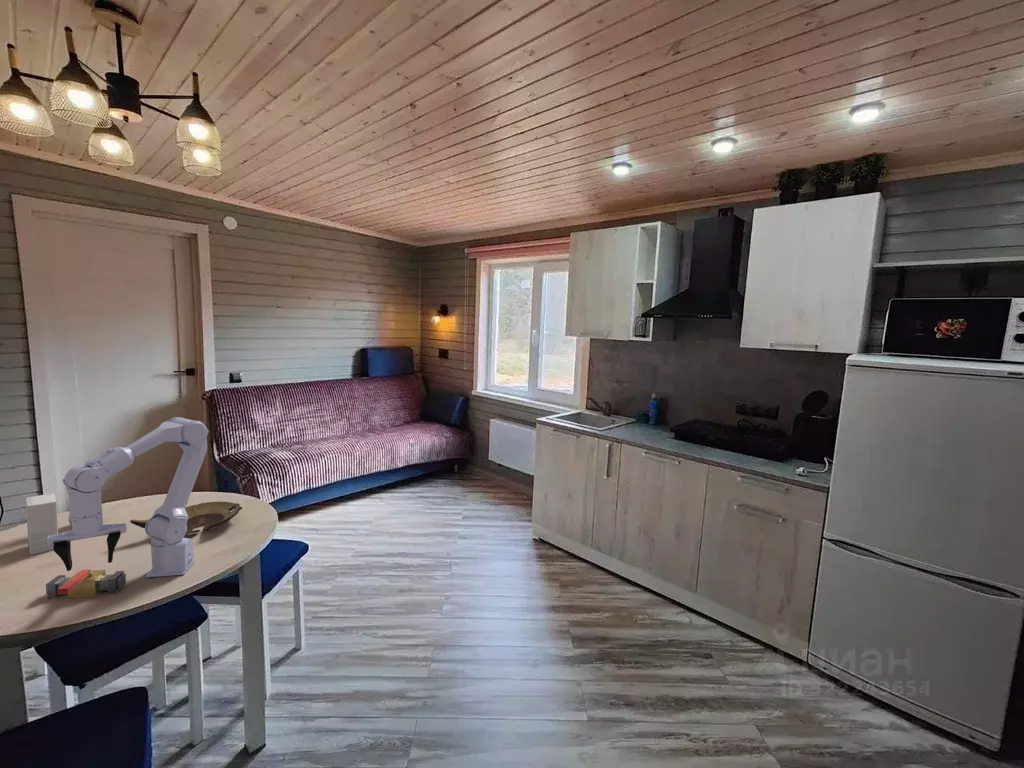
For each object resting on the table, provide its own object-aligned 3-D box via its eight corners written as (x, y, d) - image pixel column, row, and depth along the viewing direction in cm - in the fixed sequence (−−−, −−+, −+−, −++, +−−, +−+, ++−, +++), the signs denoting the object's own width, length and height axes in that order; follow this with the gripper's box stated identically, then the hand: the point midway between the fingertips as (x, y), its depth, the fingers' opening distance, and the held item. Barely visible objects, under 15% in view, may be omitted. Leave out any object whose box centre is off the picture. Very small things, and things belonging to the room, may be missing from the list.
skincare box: (28, 545, 143) (24, 497, 141) (58, 539, 148) (54, 492, 146) (29, 556, 137) (25, 505, 135) (60, 548, 142) (56, 500, 140)
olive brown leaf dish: (237, 536, 156) (236, 515, 155) (125, 549, 144) (124, 526, 143) (245, 510, 176) (245, 491, 175) (148, 520, 164) (147, 499, 163)
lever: (83, 572, 123) (83, 567, 122) (94, 571, 123) (94, 566, 123) (57, 594, 113) (56, 589, 113) (69, 593, 113) (68, 588, 113)
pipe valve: (128, 583, 127) (127, 567, 126) (118, 593, 122) (117, 576, 122) (56, 589, 123) (55, 572, 122) (43, 599, 118) (42, 582, 117)
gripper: (126, 502, 123) (128, 551, 125) (49, 513, 114) (54, 565, 116) (123, 512, 117) (126, 562, 119) (43, 524, 109) (47, 578, 110)
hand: (90, 564), depth 117 cm, fingers open, 7 cm apart
